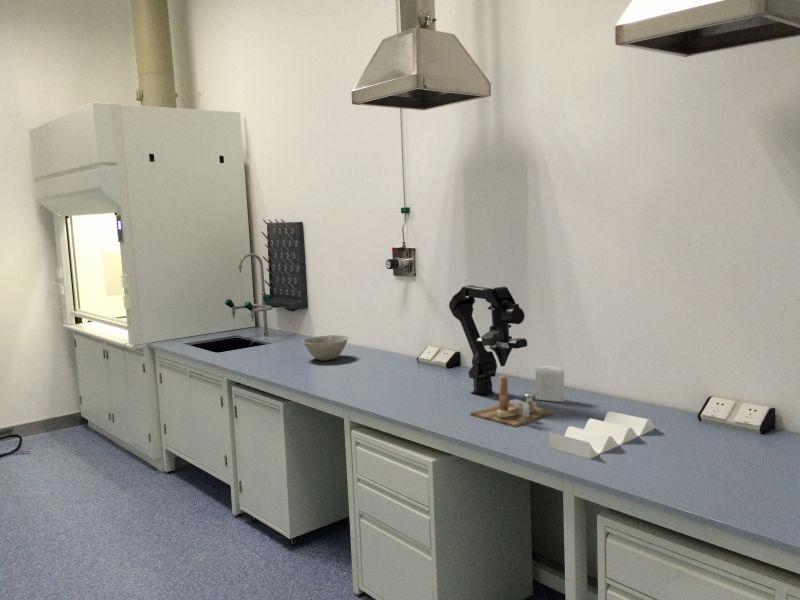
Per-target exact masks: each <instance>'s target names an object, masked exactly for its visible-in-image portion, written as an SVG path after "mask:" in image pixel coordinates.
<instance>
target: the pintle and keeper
mask: <svg viewBox="0 0 800 600" xmlns="http://www.w3.org/2000/svg"><path fill="white" fill-rule="evenodd" d="M524 397H525V398H526V402H527V403H526V402H525V401H522V400H520V399H518V398H517V399H516V398H515V399H510V400H509V401H510V403H511V404H514V405H516V406H518V407H519V417H520V418H522V419H526V418H529V405H530V404H532V402H533V397H534V393H531V392H527V393H524Z"/></svg>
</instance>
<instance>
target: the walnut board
mask: <svg viewBox="0 0 800 600" xmlns="http://www.w3.org/2000/svg"><path fill="white" fill-rule="evenodd" d="M510 407H516V405H514V404H511V403H510V400H508V408H510ZM496 410H500V403H498V404H495V405H491V406H488V407H485V408H482V409H478V410H476V411H475V410H474V411H472V412H470V413H469V415H470V416H473V417H476V418H479V419H483V420H487V421H491V422H494V423H497V424H498V423H499V424H502V425H505V426H508V427H513V428H516V427H518V426H521V425H522V426H523V425H524V424H528V423H531V422H533V421H536V420H539V419H541V418H545V417H548V416H550V415H554V414H555V410H552V409H547V408H543V407H540V406H539V407H538V406H536V412H535V413H529V418H526V419H522V418H520V417H519V415H513V416H508V417H503V418H499V417H496Z"/></svg>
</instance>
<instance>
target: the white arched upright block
mask: <svg viewBox="0 0 800 600" xmlns="http://www.w3.org/2000/svg"><path fill="white" fill-rule="evenodd" d="M535 400H539V401H546V402H547V401H548V402H549V401H550V402H555V403H556V402H557V403H563V402H565V371H564V369H563V368H561V367H558V366H556V365H555V366H553V365H542V366H537V367H536V368H535ZM562 401H563V402H562Z"/></svg>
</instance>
